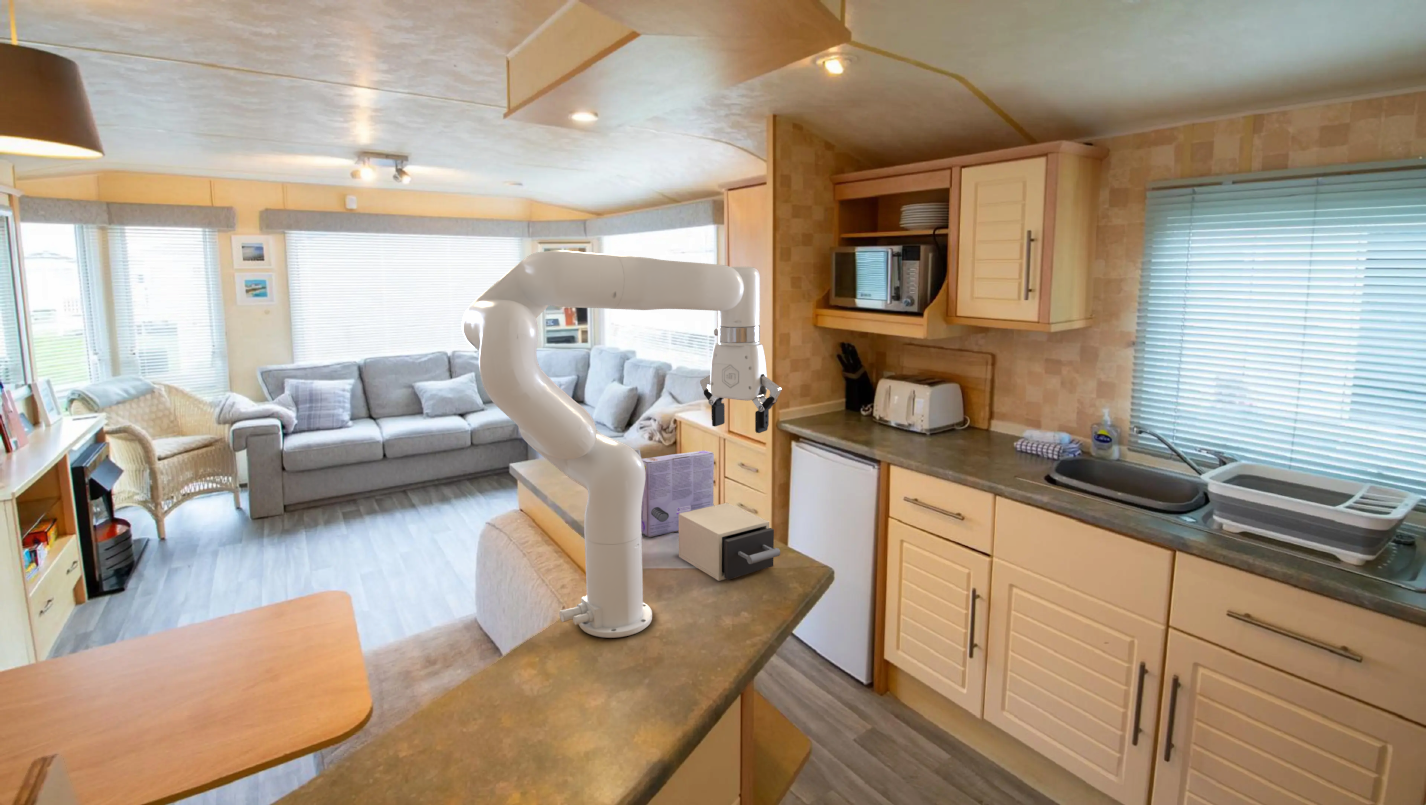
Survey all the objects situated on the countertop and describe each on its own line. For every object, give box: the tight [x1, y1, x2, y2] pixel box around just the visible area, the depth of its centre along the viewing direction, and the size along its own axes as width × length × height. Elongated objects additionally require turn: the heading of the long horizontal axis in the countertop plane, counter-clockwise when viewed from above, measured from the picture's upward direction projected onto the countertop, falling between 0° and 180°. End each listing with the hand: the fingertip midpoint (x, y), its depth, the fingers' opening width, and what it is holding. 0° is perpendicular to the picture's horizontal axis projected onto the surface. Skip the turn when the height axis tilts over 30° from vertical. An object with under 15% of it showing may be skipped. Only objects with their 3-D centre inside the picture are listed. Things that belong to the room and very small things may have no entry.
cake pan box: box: [641, 450, 715, 538], centre depth 163 cm, size 19×5×18 cm, turn 123°
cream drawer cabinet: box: [678, 502, 770, 582], centre depth 144 cm, size 15×13×10 cm
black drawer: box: [722, 527, 781, 580], centre depth 140 cm, size 18×11×8 cm, turn 35°
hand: (739, 428), depth 129 cm, fingers open, 9 cm apart
